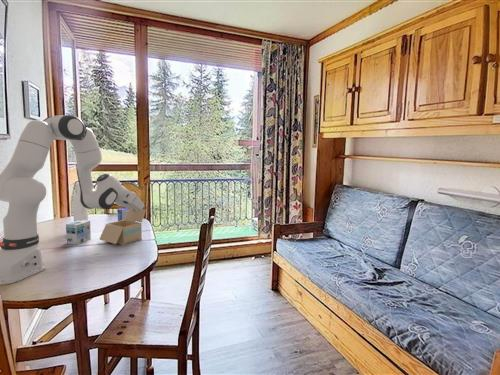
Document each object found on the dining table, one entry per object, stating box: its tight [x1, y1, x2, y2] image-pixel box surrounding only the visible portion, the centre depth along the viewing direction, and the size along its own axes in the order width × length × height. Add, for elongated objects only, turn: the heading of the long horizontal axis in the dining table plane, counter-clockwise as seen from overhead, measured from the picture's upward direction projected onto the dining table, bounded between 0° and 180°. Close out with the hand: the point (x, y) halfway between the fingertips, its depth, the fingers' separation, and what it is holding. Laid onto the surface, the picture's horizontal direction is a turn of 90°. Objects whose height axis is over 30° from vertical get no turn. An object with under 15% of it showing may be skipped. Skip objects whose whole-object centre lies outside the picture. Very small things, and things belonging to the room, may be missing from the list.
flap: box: [126, 206, 148, 223], centre depth 178 cm, size 9×13×1 cm
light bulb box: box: [65, 220, 92, 246], centre depth 166 cm, size 11×7×11 cm, turn 168°
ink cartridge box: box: [116, 207, 136, 222], centre depth 198 cm, size 10×6×14 cm, turn 147°
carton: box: [99, 220, 143, 245], centre depth 170 cm, size 17×14×9 cm
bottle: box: [72, 181, 89, 222], centre depth 183 cm, size 8×8×30 cm
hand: (136, 210), depth 178 cm, fingers closed, pressing on flap
